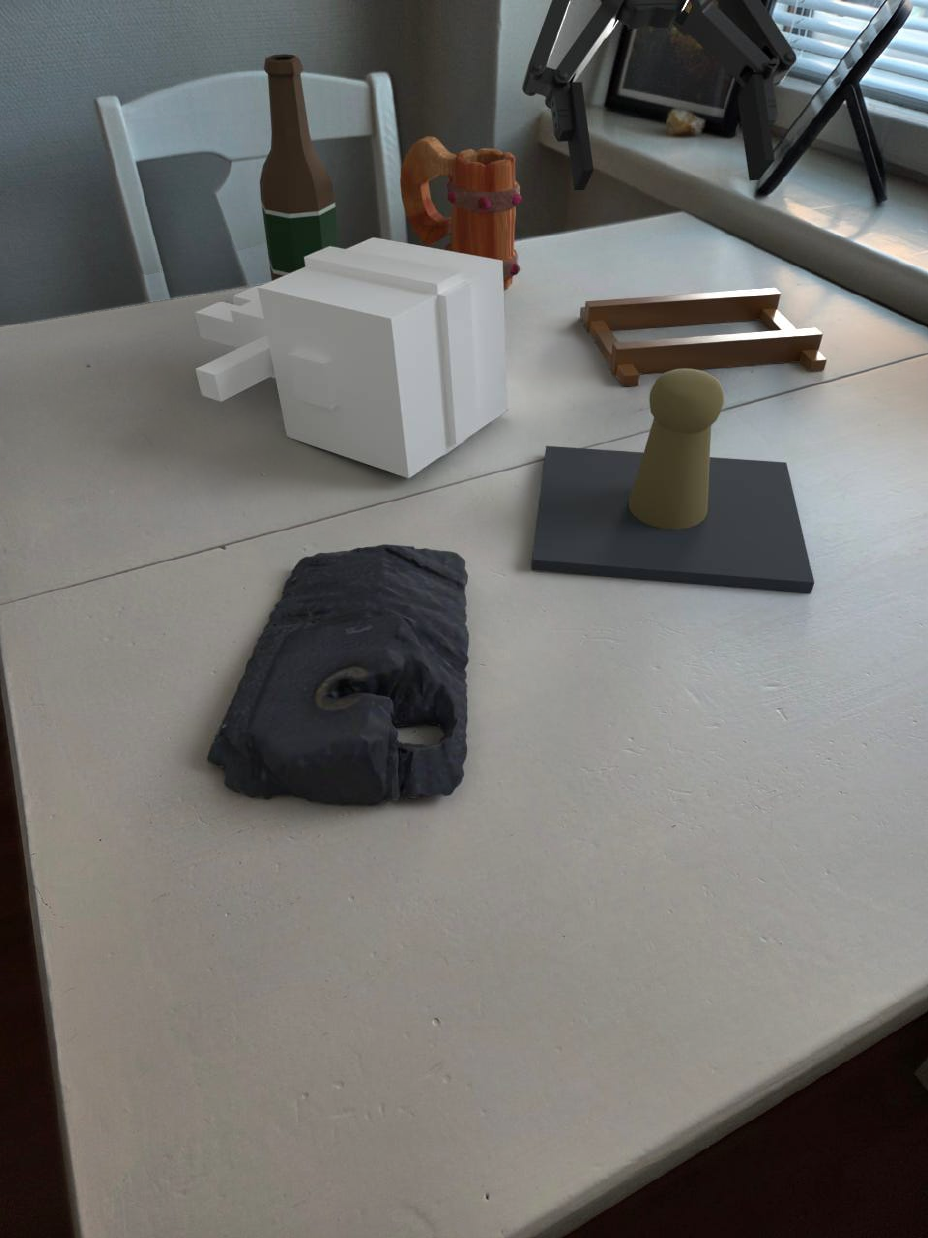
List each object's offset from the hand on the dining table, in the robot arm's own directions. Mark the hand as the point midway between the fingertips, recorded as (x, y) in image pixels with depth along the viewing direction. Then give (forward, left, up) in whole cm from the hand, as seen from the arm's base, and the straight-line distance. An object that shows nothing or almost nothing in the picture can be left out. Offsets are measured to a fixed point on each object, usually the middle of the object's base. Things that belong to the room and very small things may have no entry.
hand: (674, 175), depth 69 cm
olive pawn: (-2, +12, -21) cm, 24 cm away
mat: (-2, +12, -22) cm, 25 cm away
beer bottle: (+36, -24, -22) cm, 48 cm away
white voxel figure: (+27, -2, -22) cm, 35 cm away
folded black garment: (+18, +32, -22) cm, 43 cm away
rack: (-6, -20, -22) cm, 30 cm away
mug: (+20, -32, -22) cm, 44 cm away
